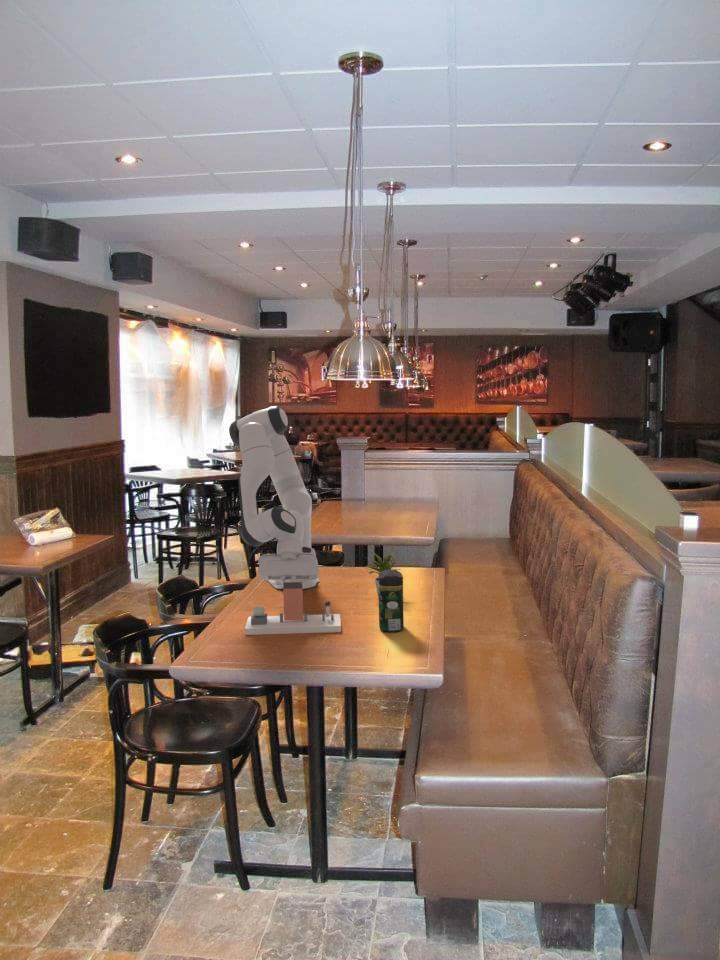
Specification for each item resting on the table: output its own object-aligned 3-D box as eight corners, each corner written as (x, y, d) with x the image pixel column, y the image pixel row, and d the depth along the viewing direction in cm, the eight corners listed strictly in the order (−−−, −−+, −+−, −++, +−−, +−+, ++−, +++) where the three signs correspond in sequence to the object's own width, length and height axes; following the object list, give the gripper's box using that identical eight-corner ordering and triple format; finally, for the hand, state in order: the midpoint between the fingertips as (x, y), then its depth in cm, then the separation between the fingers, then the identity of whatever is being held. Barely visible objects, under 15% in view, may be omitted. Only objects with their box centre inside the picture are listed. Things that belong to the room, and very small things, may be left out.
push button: (253, 612, 235) (253, 606, 234) (265, 612, 235) (264, 606, 235) (252, 616, 231) (252, 610, 231) (264, 615, 231) (264, 609, 231)
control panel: (248, 622, 239) (248, 609, 239) (339, 619, 241) (339, 606, 240) (245, 635, 227) (244, 621, 227) (341, 631, 229) (340, 618, 229)
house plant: (373, 587, 279) (373, 545, 277) (407, 590, 274) (407, 548, 272) (359, 597, 266) (359, 554, 264) (395, 601, 261) (395, 556, 259)
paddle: (284, 618, 235) (283, 582, 233) (303, 618, 235) (302, 581, 233) (284, 620, 233) (283, 584, 231) (303, 619, 233) (302, 583, 232)
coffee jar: (378, 623, 237) (377, 567, 235) (402, 622, 237) (402, 567, 235) (379, 633, 228) (378, 575, 225) (404, 633, 228) (404, 575, 225)
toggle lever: (325, 616, 235) (324, 601, 237) (330, 616, 236) (330, 601, 237) (325, 616, 234) (324, 600, 235) (330, 616, 234) (330, 600, 235)
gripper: (258, 548, 245) (255, 585, 236) (319, 548, 246) (318, 584, 237) (259, 558, 250) (256, 594, 241) (319, 558, 250) (318, 594, 242)
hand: (287, 589), depth 239 cm, fingers closed
